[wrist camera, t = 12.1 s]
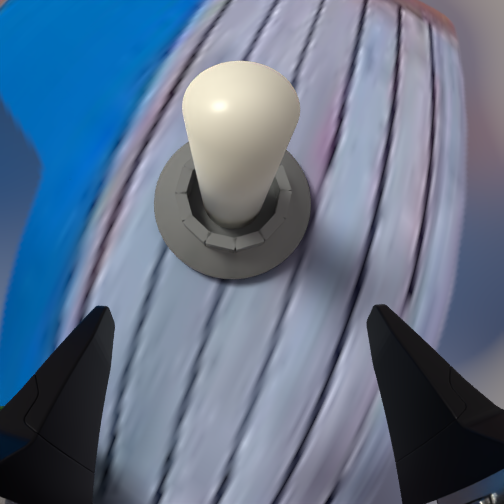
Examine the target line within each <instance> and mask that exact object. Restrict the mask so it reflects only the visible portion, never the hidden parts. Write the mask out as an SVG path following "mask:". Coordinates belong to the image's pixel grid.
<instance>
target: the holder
mask: <svg viewBox="0 0 504 504" xmlns="http://www.w3.org/2000/svg"><path fill="white" fill-rule="evenodd" d="M310 210H311V197H310V191H309V186H308V183H307V180H306V177H305V175H304V173H303V171H302V169H301V167H300V166H299V164H298V162H297V161H296V160H295V159H294V157H293V156H292V155H291V154H290V153H289V152H288V151H287V150H286V151H285V153H284V156H283V158H282V160H281V163H280V165H279V167H278V170H277V172H276V174H275V177H274V179H273V182H272V184H271V186H270V189H269V191H268V193H267V196H266V198H265V200H264V203H263V205H262V208H261V210H260V212H259V214H258V216H257V217H256V219H255V220H254V221H253V222H251V223H250V224H249V225H247V226H245V227H242V228H238V229H228V228H224V227H221V226H219V225H217V224H215V223H214V222H213V221H212V220H211V219H210V218H209V217H208V215H207V213H206V211H205V209H204V205H203V200H202V196H201V192H200V188H199V183H198V179H197V175H196V170H195V166H194V162H193V157H192V153H191V148H190V144H189V142H188V143H186V144H185V145H183V146H182V147H181V148H180V149H178V150H177V151H176V153H175V154H174V155H173V156H172V157H171V158H170V159H169V161H168V162H167V163H166V165H165V167H164V168H163V170H162V172H161V174H160V177H159V179H158V182H157V186H156V190H155V197H154V212H155V217H156V222H157V225H158V228H159V231H160V233H161V235H162V238H163V240H164V241H165V243H166V244H167V246H168V247H169V249H170V250H171V251H172V252H173V253H174V254H175V255H176V257H178V258H179V259H180V260H181V261H182V262H184V263H185V264H186V265H188V266H189V267H191V268H192V269H194V270H196V271H198V272H200V273H202V274H205V275H208V276H211V277H215V278H221V279H244V278H249V277H253V276H257V275H259V274H262V273H265V272H267V271H269V270H271V269H272V268H274V267H276V266H277V265H279V264H280V263H281V262H283V261H284V260H285V259H286V258H287V257H288V256H289V255H290V254H291V253H292V252H293V251H294V250H295V248H296V247H297V246H298V245H299V243H300V241H301V239H302V238H303V236H304V233H305V231H306V229H307V226H308V222H309V218H310Z"/></svg>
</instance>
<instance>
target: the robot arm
mask: <svg viewBox="0 0 504 504" xmlns="http://www.w3.org/2000/svg"><path fill="white" fill-rule="evenodd" d="M114 331H115V323H114V320H113V317H112V315H111V312H110V309H109V308H108V307H107V306H96V307H95V308H94V309H93V310H92V311H91V312H90V313H89V314H88V315H87V316H86V317H85V318H84V319H83V320H82V321H81V323H80V324H79V325H78V326H77V327H76V328H75V329H74V330H73V331H72V332H71V333H70V334H69V335H68V337H67V338H66V339H65V340H64V341H63V342H62V343H61V344H60V345H59V346H58V348H57V349H56V350H55V351H54V352H53V353H52V354H51V355H50V357H49V358H48V359H47V360H46V361H45V362H44V363H43V365H42V366H41V367H40V368H39V369H38V370H37V372H36V373H35V374H34V375H33V376H32V377H31V378H30V380H29V381H28V382H27V383H26V384H25V385H24V386H23V388H22V389H21V390H20V391H19V392H18V393H17V394H16V395H15V396H14V397H13V398H12V399H11V400H10V401H9V402H8V403H7V404H6V405H5V406H4V407H3V408H2V409H1V410H0V504H92V499H93V486H94V475H95V474H94V473H95V464H96V455H97V447H98V440H99V433H100V426H101V419H102V413H103V407H104V401H105V395H106V390H107V384H108V379H109V374H110V368H111V360H112V349H113V339H114ZM367 331H368V337H369V343H370V349H371V356H372V362H373V366H374V370H375V374H376V378H377V382H378V386H379V390H380V394H381V398H382V402H383V406H384V410H385V415H386V419H387V423H388V428H389V433H390V437H391V442H392V447H393V452H394V457H395V462H396V468H397V474H398V479H399V485H400V491H401V497H402V504H426V503H429V502H431V501H434V500H437V504H504V410H503V409H501V408H499V407H498V406H496V405H495V404H493V403H492V402H491V401H490V400H489V399H488V398H486V397H485V396H484V395H483V394H481V393H480V392H479V391H478V390H477V389H475V388H474V387H473V386H472V385H471V384H470V383H469V382H467V381H466V380H465V379H464V378H463V377H462V376H461V375H460V374H459V373H458V372H457V371H456V370H455V369H454V368H453V367H451V366H450V365H449V364H448V363H447V362H446V361H445V360H444V359H443V358H442V357H441V356H440V355H439V354H438V353H437V352H436V351H435V350H434V349H433V348H432V347H431V346H430V345H429V344H428V343H427V342H426V341H424V340H423V339H422V338H421V337H420V336H419V335H418V334H417V333H416V332H415V331H414V330H413V329H412V328H411V327H410V326H408V325H407V324H406V323H405V322H404V321H403V320H402V319H401V318H400V317H399V316H398V315H397V314H395V313H394V312H393V311H392V310H391V309H390V308H389V307H388V306H387V305H385V304H380V305H375V306H373V308H372V310H371V313H370V315H369V317H368V319H367Z"/></svg>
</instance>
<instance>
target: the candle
mask: <svg viewBox="0 0 504 504" xmlns="http://www.w3.org/2000/svg"><path fill="white" fill-rule="evenodd" d="M182 111H183V116H184V121H185V126H186V130H187V135H188V139H189V144H190V148H191V153H192V157H193V162H194V166H195V170H196V175H197V179H198V183H199V188H200V192H201V196H202V200H203V205H204V209H205V211H206V213H207V215H208V217H209V218H210V219H211V220H212V221H213V222H214V223H215V224H217V225H219V226H221V227H224V228H228V229H238V228H242V227H245V226H247V225H249V224H250V223H251V222H253V221H254V220H255V219H256V217H257V216H258V214H259V212H260V210H261V208H262V205H263V203H264V200H265V198H266V196H267V193H268V191H269V189H270V186H271V184H272V182H273V179H274V177H275V174H276V172H277V170H278V167H279V165H280V163H281V160H282V158H283V156H284V153H285V151H286V149H287V146H288V144H289V142H290V139H291V137H292V135H293V132H294V130H295V128H296V125H297V123H298V120H299V116H300V103H299V99H298V96H297V93H296V91H295V90H294V88H293V86H292V85H291V84H290V82H289V81H288V80H287V79H286V78H285V77H284V76H282V75H281V74H280V73H279V72H277V71H275V70H274V69H272V68H270V67H268V66H265V65H262V64H259V63H255V62H249V61H231V62H225V63H221V64H218V65H215V66H212V67H210V68H208V69H206V70H205V71H203V72H202V73H200V74H199V75H198V76H197V77H196V78H195V79H194V80H193V81H192V82H191V83H190V85H189V86H188V88H187V90H186V92H185V95H184V98H183V104H182Z"/></svg>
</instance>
